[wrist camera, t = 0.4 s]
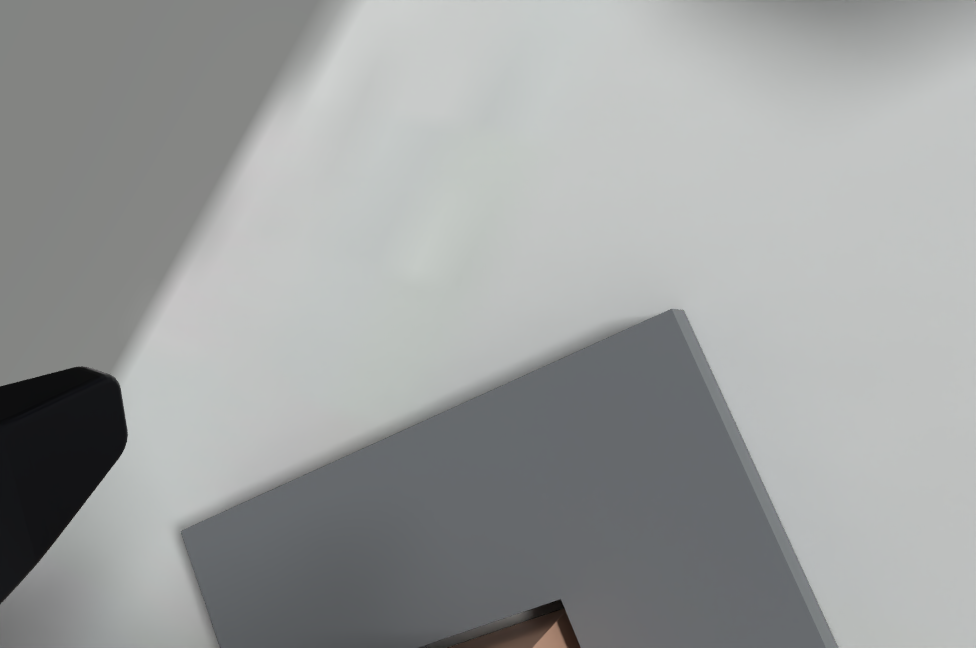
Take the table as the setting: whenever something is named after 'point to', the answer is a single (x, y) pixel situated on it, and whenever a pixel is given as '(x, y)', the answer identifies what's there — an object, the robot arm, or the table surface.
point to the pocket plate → (527, 521)
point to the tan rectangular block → (530, 634)
